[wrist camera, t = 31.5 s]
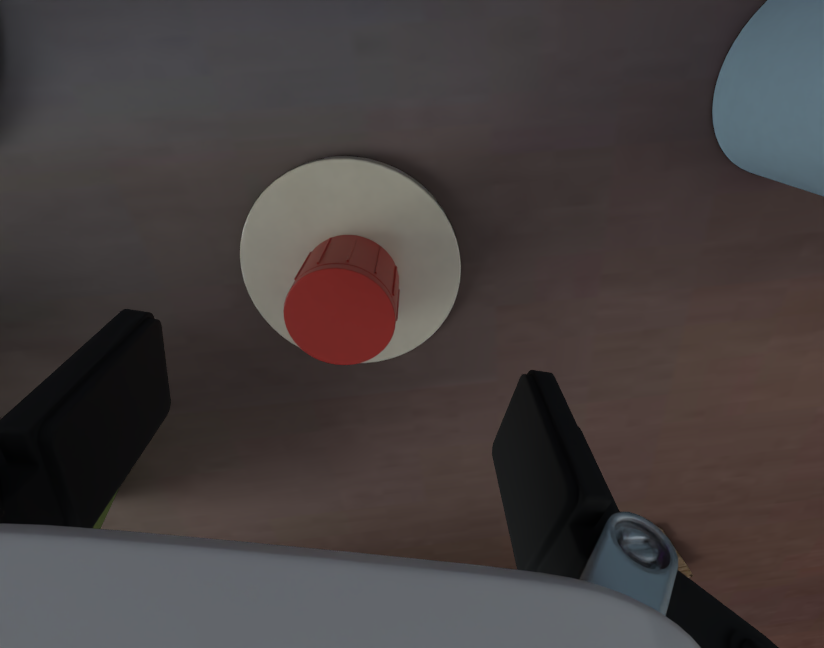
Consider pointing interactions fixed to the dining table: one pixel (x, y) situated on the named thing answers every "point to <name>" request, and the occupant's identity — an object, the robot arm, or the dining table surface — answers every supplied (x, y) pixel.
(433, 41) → the dining table surface
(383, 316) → the cap
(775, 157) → the water bottle
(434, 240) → the coaster
